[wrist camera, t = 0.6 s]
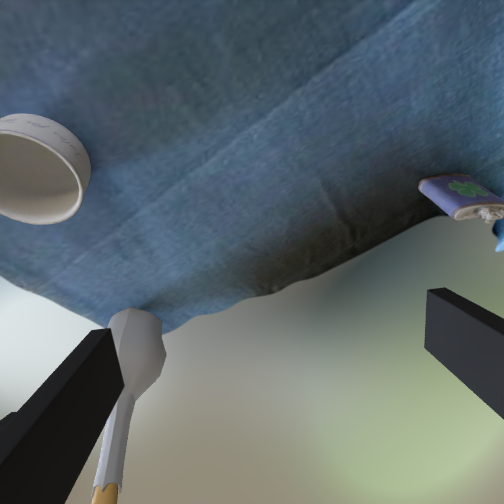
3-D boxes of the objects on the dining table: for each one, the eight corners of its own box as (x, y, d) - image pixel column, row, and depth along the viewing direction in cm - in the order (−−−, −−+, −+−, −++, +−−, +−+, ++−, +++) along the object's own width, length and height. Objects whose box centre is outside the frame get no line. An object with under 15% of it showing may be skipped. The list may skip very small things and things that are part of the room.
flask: (414, 191, 49) (459, 229, 41) (422, 174, 47) (470, 211, 39) (465, 189, 50) (518, 226, 42) (474, 172, 48) (531, 208, 40)
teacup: (103, 125, 36) (84, 151, 30) (95, 201, 42) (79, 236, 36) (-46, 78, 31) (-104, 98, 25) (-30, 172, 37) (-74, 207, 31)
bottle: (107, 285, 52) (42, 509, 29) (173, 293, 56) (161, 498, 33) (102, 325, 58) (46, 534, 36) (162, 330, 62) (146, 522, 39)
